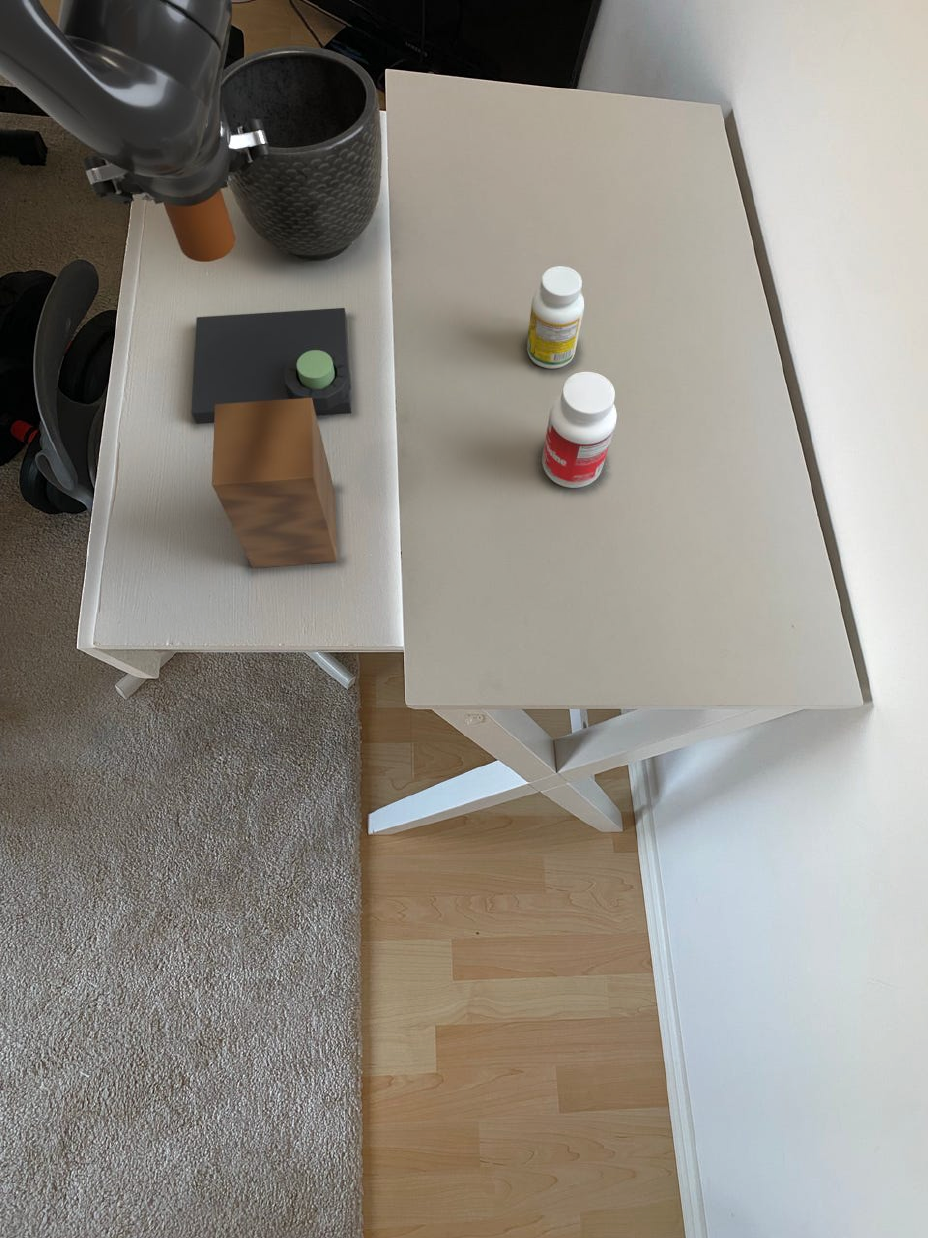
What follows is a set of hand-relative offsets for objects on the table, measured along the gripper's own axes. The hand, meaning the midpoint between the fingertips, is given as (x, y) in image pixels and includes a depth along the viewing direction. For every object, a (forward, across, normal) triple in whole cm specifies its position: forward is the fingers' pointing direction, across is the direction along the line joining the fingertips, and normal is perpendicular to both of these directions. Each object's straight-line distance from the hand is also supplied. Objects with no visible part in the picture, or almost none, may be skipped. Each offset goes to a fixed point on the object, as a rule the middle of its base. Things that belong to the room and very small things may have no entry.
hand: (187, 182), depth 68 cm
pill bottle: (-5, -27, +33) cm, 43 cm away
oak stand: (-4, +1, +31) cm, 31 cm away
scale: (+10, -2, +17) cm, 20 cm away
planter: (+23, -12, +4) cm, 27 cm away
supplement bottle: (+5, -31, +23) cm, 39 cm away
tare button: (+5, -6, +18) cm, 20 cm away
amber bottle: (+2, 0, +5) cm, 5 cm away
